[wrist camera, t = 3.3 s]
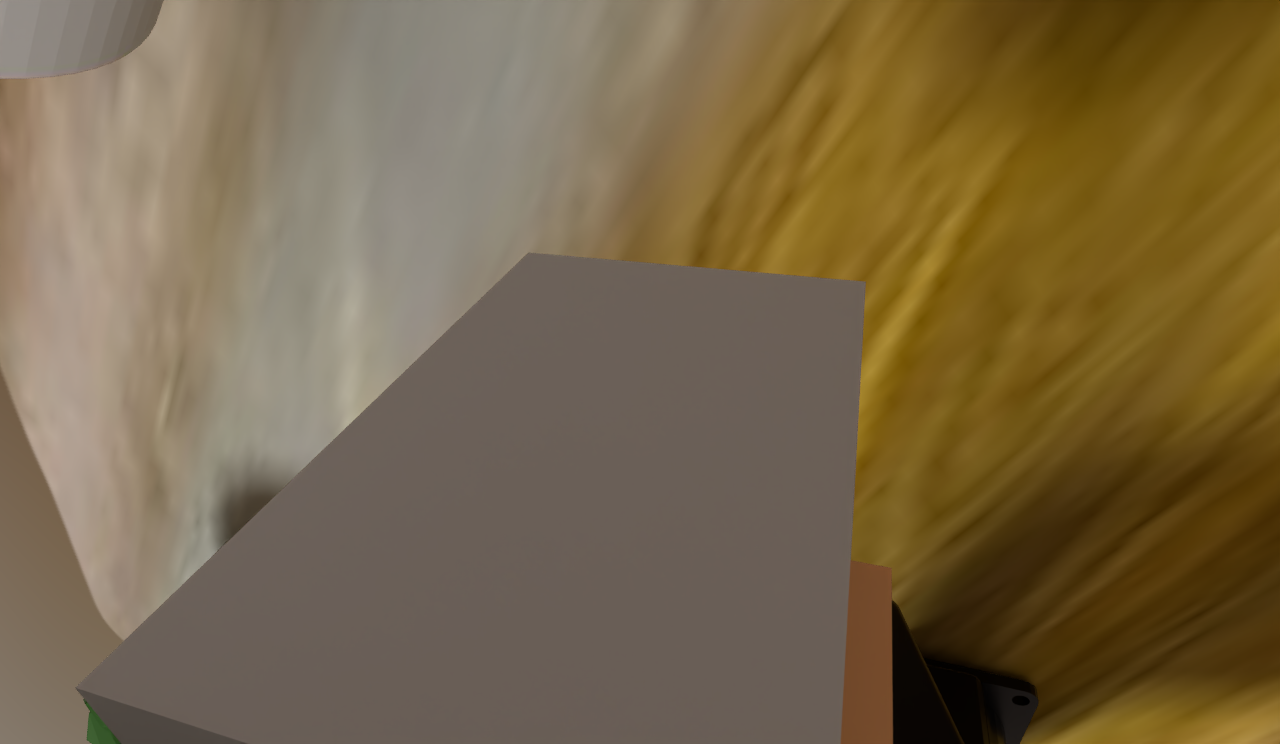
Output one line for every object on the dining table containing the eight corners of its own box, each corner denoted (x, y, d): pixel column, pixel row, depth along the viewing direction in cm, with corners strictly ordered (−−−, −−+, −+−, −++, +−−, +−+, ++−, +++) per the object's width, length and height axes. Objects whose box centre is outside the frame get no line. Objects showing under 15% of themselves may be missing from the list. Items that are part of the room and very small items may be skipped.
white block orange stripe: (831, 675, 11) (790, 1241, 6) (578, 616, 12) (384, 1062, 8) (904, 285, 7) (939, 968, 3) (528, 252, 9) (75, 687, 4)
